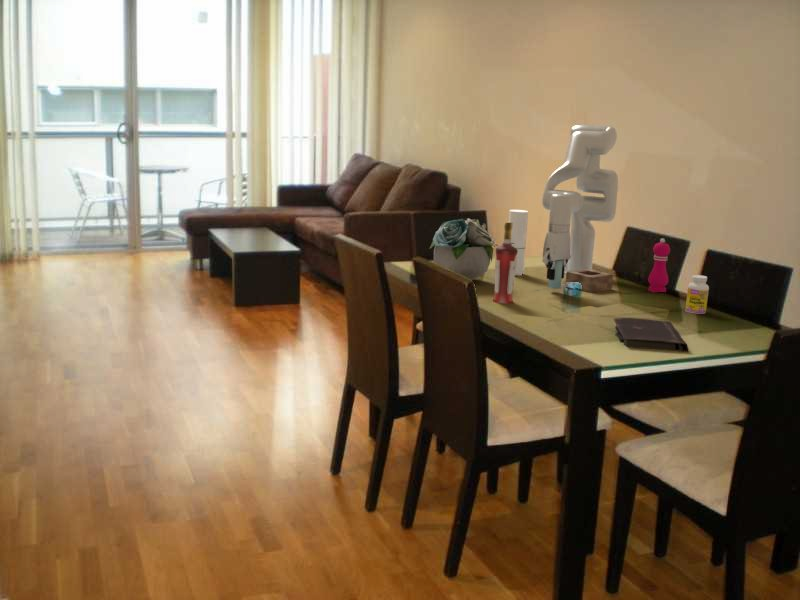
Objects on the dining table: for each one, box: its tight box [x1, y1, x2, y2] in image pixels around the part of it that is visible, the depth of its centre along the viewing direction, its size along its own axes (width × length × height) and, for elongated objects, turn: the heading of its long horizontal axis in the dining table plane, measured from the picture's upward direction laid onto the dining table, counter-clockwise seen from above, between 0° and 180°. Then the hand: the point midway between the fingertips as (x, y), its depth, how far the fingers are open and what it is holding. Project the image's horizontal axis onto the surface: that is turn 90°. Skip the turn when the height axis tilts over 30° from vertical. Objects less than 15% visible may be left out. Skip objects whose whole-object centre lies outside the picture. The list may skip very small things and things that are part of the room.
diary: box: [613, 317, 689, 353], centre depth 266 cm, size 19×25×5 cm
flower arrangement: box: [429, 217, 499, 281], centre depth 336 cm, size 25×25×24 cm
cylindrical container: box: [508, 209, 529, 276], centre depth 357 cm, size 7×7×25 cm
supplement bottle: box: [684, 274, 710, 315], centre depth 305 cm, size 7×7×13 cm
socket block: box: [565, 269, 614, 293], centre depth 338 cm, size 12×12×6 cm
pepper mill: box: [647, 237, 671, 293], centre depth 337 cm, size 7×7×20 cm
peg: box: [548, 260, 563, 289], centre depth 328 cm, size 4×4×10 cm
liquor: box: [492, 221, 518, 305], centre depth 304 cm, size 7×7×28 cm
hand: (555, 278), depth 328 cm, fingers closed on peg, 4 cm apart
